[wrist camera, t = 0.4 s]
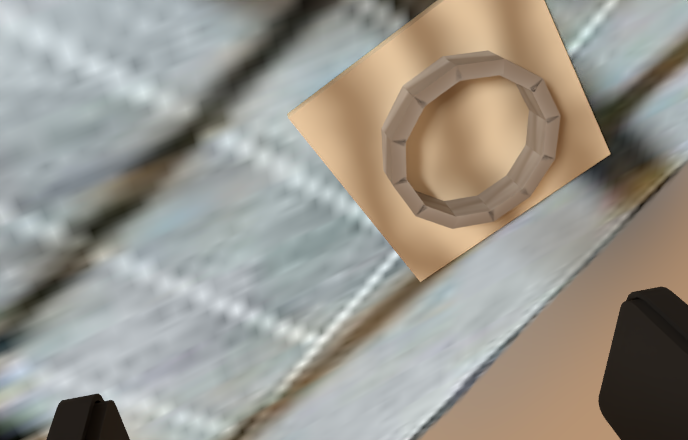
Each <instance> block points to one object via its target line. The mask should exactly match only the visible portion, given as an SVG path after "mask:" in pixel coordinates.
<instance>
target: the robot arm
mask: <svg viewBox="0 0 688 440" xmlns="http://www.w3.org/2000/svg"><path fill="white" fill-rule="evenodd" d="M599 407H600V410H601V412H602V414H603V416H604V417H605V419H606V420H607V422H608V423H609V424H610V426H611V427H612V428H613V430H614V431H615V432H616V434H617V435H618V436H619V438H620V439H621V440H688V305H687V304H686V303H685V302H684V301H682V300H681V299H680V298H679V297H678V296H676V295H675V294H674V293H673V292H672V291H670V290H669V289H667V288H665V287H657V288H652V289H647V290H641V291H636V292H632V293H631V294H629V295H628V298H627V300H626V301H625V302H623V303H622V305H621V308H620V312H619V316H618V320H617V324H616V329H615V332H614V337H613V341H612V345H611V349H610V353H609V357H608V361H607V366H606V370H605V374H604V378H603V382H602V386H601V390H600V394H599ZM47 440H130V439H129V436H128V434H127V432H126V429H125V427H124V424H123V422H122V419H121V417H120V414H119V412H118V409H117V407H116V405H115V403H114V401H112V400H109V401H104V400H103V398H102V396H101V395H99V394H94V395H88V396H83V397H78V398H72V399H67V400H62V401H61V402H60V403H59V405H58V407H57V409H56V412H55V415H54V418H53V421H52V424H51V427H50V430H49V434H48V437H47Z"/></svg>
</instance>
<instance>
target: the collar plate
mask: <svg viewBox="0 0 688 440" xmlns="http://www.w3.org/2000/svg"><path fill="white" fill-rule="evenodd" d="M287 115H288V118H289V119H290V121H291V122H292V123H293V124H294V126H295V127H296V128H297V129H298V131H299V132H300V133H301V134H302V136H303V137H304V138H305V139H306V141H307V142H308V143H309V144H310V145H311V147H312V148H313V149H314V150H315V152H316V153H317V154H318V155H319V157H320V158H321V159H322V160H323V162H324V163H325V164H326V165H327V167H328V168H329V169H330V170H331V172H332V173H333V174H334V175H335V177H336V178H337V179H338V180H339V181H340V183H341V184H342V185H343V186H344V188H345V189H346V190H347V191H348V193H349V194H350V195H351V196H352V198H353V199H354V200H355V201H356V203H357V204H358V205H359V206H360V208H361V209H362V210H363V211H364V213H365V214H366V215H367V216H368V217H369V219H370V220H371V221H372V222H373V224H374V225H375V226H376V227H377V229H378V230H379V231H380V232H381V234H382V235H383V236H384V237H385V239H386V240H387V241H388V242H389V244H390V245H391V246H392V247H393V249H394V250H395V251H396V252H397V254H398V255H399V256H400V257H401V258H402V260H403V261H404V262H405V263H406V265H407V266H408V267H409V268H410V270H411V271H412V272H413V273H414V275H415V276H416V277H417V278H418V280H419V281H420V282H421V281H422V280H424V279H425V278H427V277H428V276H430V275H431V274H433V273H434V272H436V271H437V270H439V269H440V268H442V267H443V266H445V265H446V264H448V263H449V262H451V261H452V260H454V259H455V258H457V257H458V256H460V255H461V254H463V253H464V252H466V251H467V250H469V249H470V248H472V247H473V246H475V245H476V244H478V243H479V242H481V241H482V240H483V239H485V238H486V237H488V236H489V235H491V234H492V233H494V232H495V231H497V230H498V229H500V228H501V227H503V226H504V225H506V224H507V223H509V222H510V221H512V220H513V219H515V218H516V217H518V216H519V215H521V214H522V213H524V212H525V211H527V210H528V209H530V208H531V207H533V206H534V205H536V204H537V203H539V202H540V201H541V200H543V199H544V198H546V197H547V196H549V195H550V194H552V193H553V192H555V191H556V190H558V189H559V188H561V187H562V186H564V185H565V184H567V183H568V182H570V181H571V180H573V179H574V178H576V177H577V176H579V175H580V174H582V173H583V172H585V171H586V170H588V169H589V168H591V167H592V166H594V165H595V164H597V163H598V162H599V161H601V160H602V159H604V158H605V157H607V156H608V155H610V152H609V149H608V147H607V145H606V142H605V140H604V138H603V135H602V133H601V131H600V128H599V126H598V124H597V121H596V119H595V117H594V115H593V112H592V110H591V108H590V105H589V103H588V101H587V98H586V96H585V94H584V91H583V89H582V87H581V84H580V82H579V80H578V77H577V75H576V73H575V71H574V68H573V66H572V64H571V61H570V59H569V57H568V54H567V52H566V50H565V47H564V45H563V43H562V40H561V38H560V36H559V34H558V31H557V29H556V27H555V24H554V22H553V20H552V17H551V15H550V13H549V10H548V8H547V6H546V3H545V1H544V0H437V1H436V2H435V3H433V4H432V5H431V6H429V7H428V8H427V9H425V10H424V11H423V12H421V13H420V14H419V15H417V16H416V17H415V18H413V19H412V20H411V21H409V22H408V23H407V24H406V25H404V26H403V27H402V28H400V29H399V30H398V31H396V32H395V33H394V34H392V35H391V36H390V37H388V38H387V39H386V40H384V41H383V42H382V43H380V44H379V45H378V46H376V47H375V48H374V49H372V50H371V51H370V52H369V53H367V54H366V55H365V56H363V57H362V58H361V59H359V60H358V61H357V62H355V63H354V64H353V65H351V66H350V67H349V68H347V69H346V70H345V71H343V72H342V73H341V74H339V75H338V76H337V77H336V78H334V79H333V80H332V81H330V82H329V83H328V84H326V85H325V86H324V87H322V88H321V89H320V90H318V91H317V92H316V93H314V94H313V95H312V96H310V97H309V98H308V99H306V100H305V101H304V102H302V103H301V104H300V105H299V106H297V107H296V108H295V109H293V110H292V111H291V112H289V113H288V114H287Z"/></svg>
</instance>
